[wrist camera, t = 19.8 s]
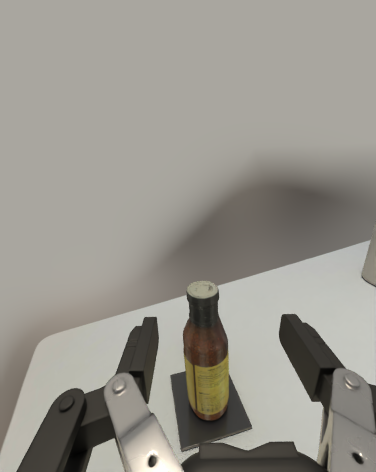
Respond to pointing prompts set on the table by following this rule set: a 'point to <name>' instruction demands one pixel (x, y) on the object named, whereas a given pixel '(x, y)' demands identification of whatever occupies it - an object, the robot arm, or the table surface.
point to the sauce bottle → (206, 353)
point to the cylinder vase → (371, 261)
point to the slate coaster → (206, 430)
